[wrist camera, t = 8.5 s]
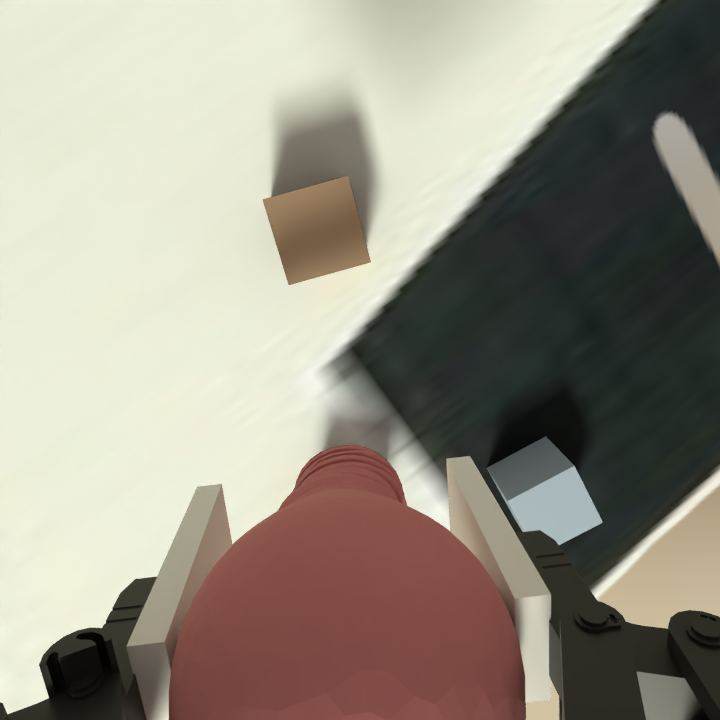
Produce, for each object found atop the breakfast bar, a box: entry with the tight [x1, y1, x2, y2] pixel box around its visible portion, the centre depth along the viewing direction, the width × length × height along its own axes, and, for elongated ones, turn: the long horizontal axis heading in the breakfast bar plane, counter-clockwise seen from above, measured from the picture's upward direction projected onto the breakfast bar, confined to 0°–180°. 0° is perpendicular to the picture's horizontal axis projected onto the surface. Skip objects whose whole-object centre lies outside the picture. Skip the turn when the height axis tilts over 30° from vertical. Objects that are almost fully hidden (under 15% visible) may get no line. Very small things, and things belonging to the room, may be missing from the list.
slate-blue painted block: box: [487, 437, 603, 545], centre depth 40 cm, size 5×5×5 cm
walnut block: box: [263, 176, 371, 285], centre depth 34 cm, size 5×5×5 cm
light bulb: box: [169, 445, 526, 720], centre depth 14 cm, size 7×7×12 cm
